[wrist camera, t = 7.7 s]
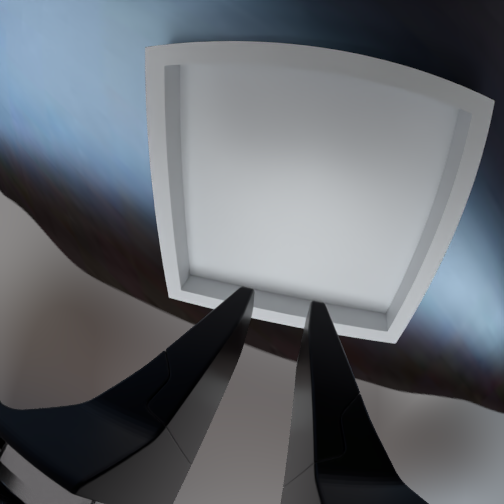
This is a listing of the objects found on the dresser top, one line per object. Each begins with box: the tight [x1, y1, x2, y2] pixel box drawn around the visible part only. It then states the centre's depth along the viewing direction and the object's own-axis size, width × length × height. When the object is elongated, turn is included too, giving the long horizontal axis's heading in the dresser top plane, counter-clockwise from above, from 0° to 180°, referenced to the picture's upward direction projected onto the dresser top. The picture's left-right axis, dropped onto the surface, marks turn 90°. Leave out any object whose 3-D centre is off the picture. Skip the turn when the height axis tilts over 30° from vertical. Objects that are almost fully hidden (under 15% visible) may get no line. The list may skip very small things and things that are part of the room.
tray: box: [145, 41, 495, 344], centre depth 14 cm, size 15×15×2 cm
